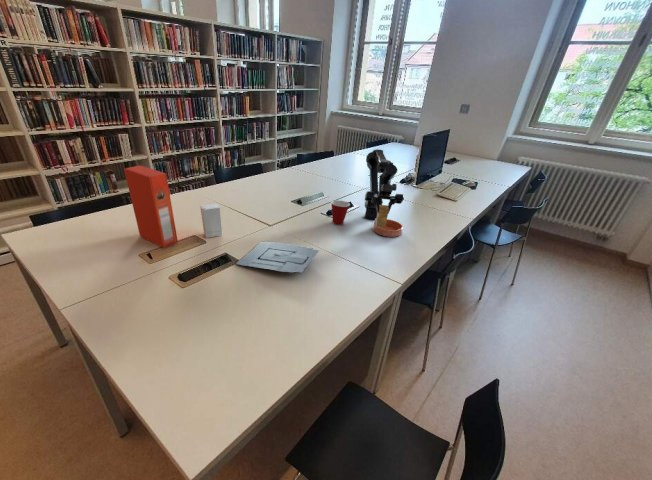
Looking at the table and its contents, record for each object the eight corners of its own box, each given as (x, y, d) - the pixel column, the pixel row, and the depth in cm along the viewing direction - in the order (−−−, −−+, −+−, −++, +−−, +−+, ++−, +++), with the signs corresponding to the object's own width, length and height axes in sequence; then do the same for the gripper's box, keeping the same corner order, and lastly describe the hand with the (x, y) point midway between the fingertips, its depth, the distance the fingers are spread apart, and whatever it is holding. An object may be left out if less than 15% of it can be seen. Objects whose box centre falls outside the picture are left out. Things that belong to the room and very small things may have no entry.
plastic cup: (350, 221, 183) (353, 201, 177) (343, 228, 174) (346, 207, 168) (332, 217, 187) (334, 197, 180) (325, 223, 178) (327, 203, 172)
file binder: (162, 248, 144) (149, 177, 127) (139, 237, 151) (123, 168, 134) (177, 242, 149) (166, 173, 133) (154, 231, 157) (141, 165, 140)
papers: (300, 280, 126) (299, 272, 124) (235, 269, 137) (234, 262, 135) (320, 254, 146) (320, 246, 144) (262, 246, 156) (261, 239, 154)
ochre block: (376, 226, 163) (380, 208, 158) (375, 222, 167) (379, 204, 162) (385, 227, 163) (389, 208, 158) (384, 223, 167) (387, 205, 161)
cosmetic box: (219, 231, 162) (217, 203, 154) (222, 236, 157) (220, 207, 150) (203, 233, 159) (199, 204, 151) (205, 238, 154) (202, 209, 146)
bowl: (369, 233, 171) (370, 226, 169) (376, 223, 183) (378, 216, 181) (398, 240, 166) (399, 233, 164) (403, 229, 178) (405, 223, 176)
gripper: (369, 175, 156) (367, 204, 152) (407, 178, 155) (406, 208, 152) (365, 185, 167) (363, 213, 163) (401, 189, 166) (400, 217, 163)
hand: (383, 213), depth 160 cm, fingers closed on ochre block, 4 cm apart
